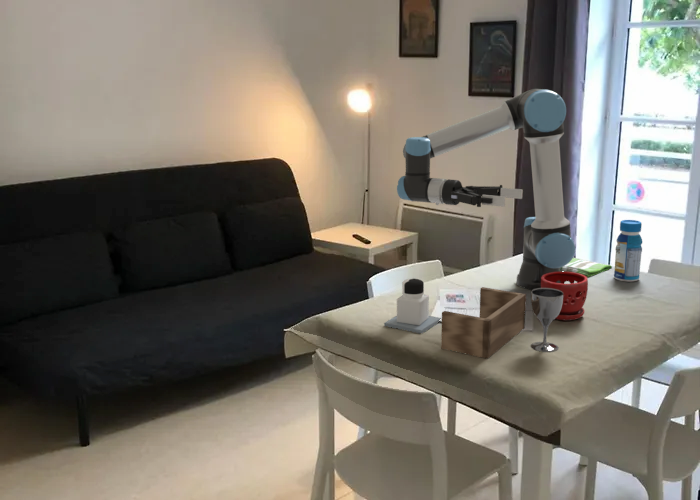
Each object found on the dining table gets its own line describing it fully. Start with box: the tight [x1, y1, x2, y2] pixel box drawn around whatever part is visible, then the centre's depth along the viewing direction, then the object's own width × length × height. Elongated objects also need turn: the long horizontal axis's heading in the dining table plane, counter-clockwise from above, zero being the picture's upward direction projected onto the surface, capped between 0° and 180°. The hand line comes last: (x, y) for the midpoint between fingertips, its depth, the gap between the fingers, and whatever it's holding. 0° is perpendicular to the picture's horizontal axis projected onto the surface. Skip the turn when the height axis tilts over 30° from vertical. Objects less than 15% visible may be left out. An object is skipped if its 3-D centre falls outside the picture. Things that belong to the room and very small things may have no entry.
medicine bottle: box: [396, 278, 430, 325], centre depth 211 cm, size 7×7×12 cm
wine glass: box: [530, 288, 563, 353], centre depth 192 cm, size 8×8×15 cm
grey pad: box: [383, 315, 442, 334], centre depth 213 cm, size 12×12×1 cm
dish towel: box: [560, 257, 613, 278], centre depth 269 cm, size 17×23×4 cm
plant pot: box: [541, 271, 589, 321], centre depth 216 cm, size 13×13×12 cm
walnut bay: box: [440, 286, 527, 359], centre depth 200 cm, size 13×26×10 cm, turn 147°
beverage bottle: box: [613, 219, 643, 283], centre depth 251 cm, size 8×8×20 cm
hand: (513, 197), depth 211 cm, fingers open, 13 cm apart
